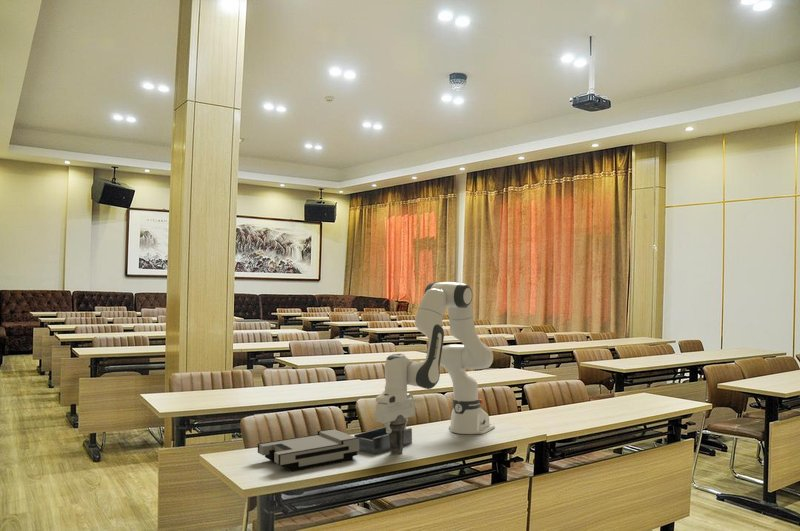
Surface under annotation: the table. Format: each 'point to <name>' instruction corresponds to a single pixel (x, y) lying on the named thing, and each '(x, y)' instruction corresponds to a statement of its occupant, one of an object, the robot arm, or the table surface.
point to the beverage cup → (397, 435)
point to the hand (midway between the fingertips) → (396, 431)
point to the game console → (311, 450)
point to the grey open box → (379, 440)
